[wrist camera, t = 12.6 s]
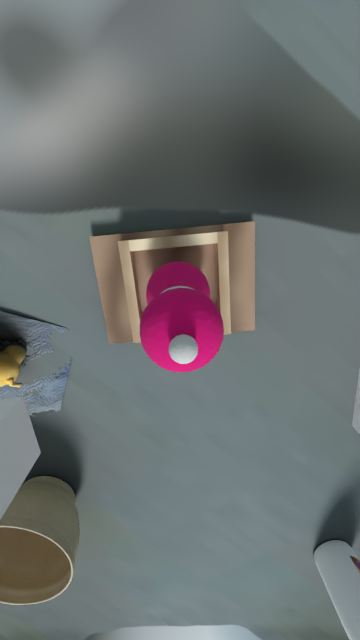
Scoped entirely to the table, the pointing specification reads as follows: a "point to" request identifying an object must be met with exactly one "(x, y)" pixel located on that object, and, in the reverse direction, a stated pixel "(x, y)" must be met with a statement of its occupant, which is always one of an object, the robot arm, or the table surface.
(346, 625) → the milk bottle
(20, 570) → the planter bowl
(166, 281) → the pepper mill
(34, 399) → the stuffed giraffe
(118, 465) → the table surface
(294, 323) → the table surface
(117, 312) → the holder board
